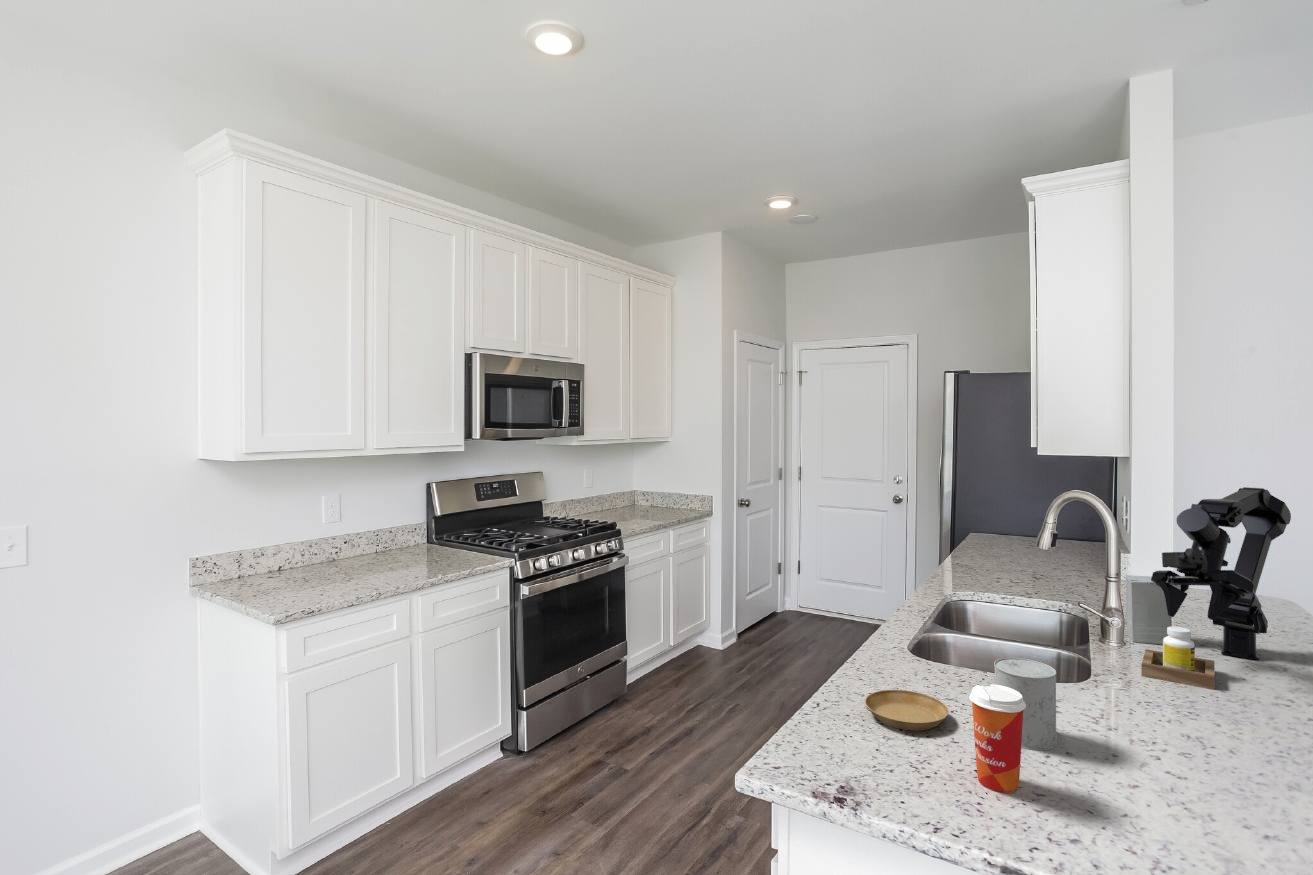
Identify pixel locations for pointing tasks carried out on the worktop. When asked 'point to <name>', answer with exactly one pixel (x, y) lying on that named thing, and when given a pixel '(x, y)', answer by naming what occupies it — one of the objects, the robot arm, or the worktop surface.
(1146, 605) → the skincare box
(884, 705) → the plant saucer
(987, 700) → the paper cup
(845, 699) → the worktop surface
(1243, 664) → the worktop surface
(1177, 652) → the supplement bottle
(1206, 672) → the brown wooden frame
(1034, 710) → the grey concrete cylinder
